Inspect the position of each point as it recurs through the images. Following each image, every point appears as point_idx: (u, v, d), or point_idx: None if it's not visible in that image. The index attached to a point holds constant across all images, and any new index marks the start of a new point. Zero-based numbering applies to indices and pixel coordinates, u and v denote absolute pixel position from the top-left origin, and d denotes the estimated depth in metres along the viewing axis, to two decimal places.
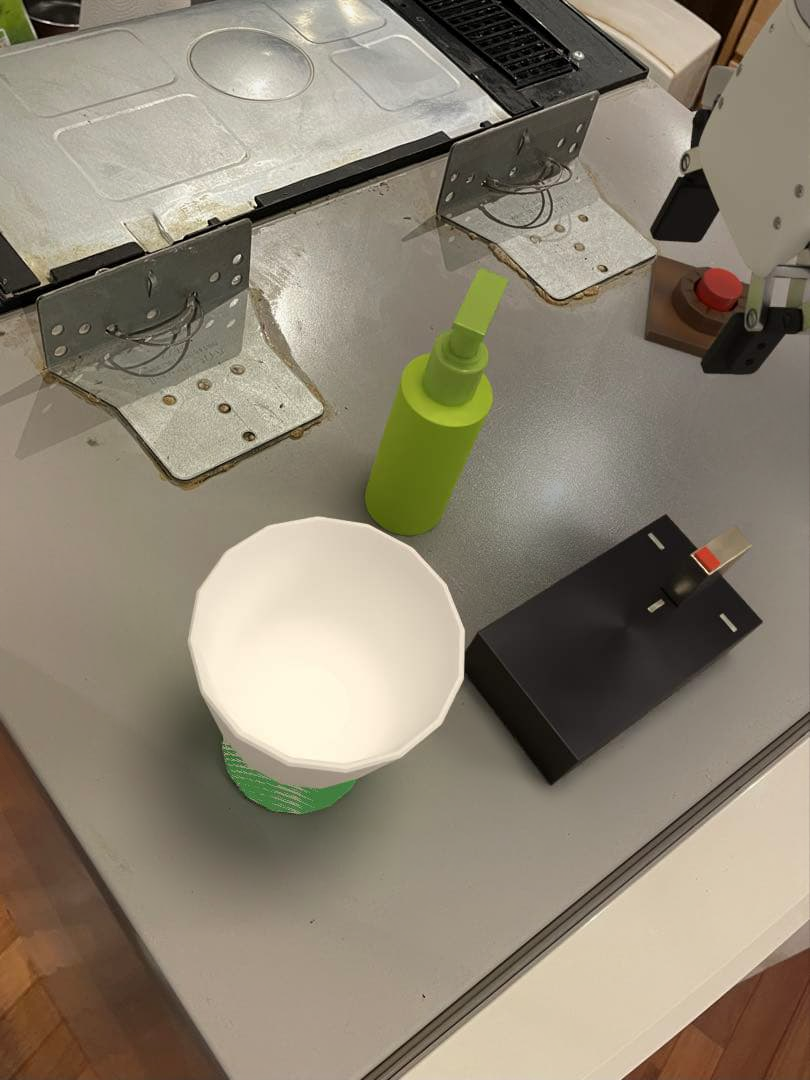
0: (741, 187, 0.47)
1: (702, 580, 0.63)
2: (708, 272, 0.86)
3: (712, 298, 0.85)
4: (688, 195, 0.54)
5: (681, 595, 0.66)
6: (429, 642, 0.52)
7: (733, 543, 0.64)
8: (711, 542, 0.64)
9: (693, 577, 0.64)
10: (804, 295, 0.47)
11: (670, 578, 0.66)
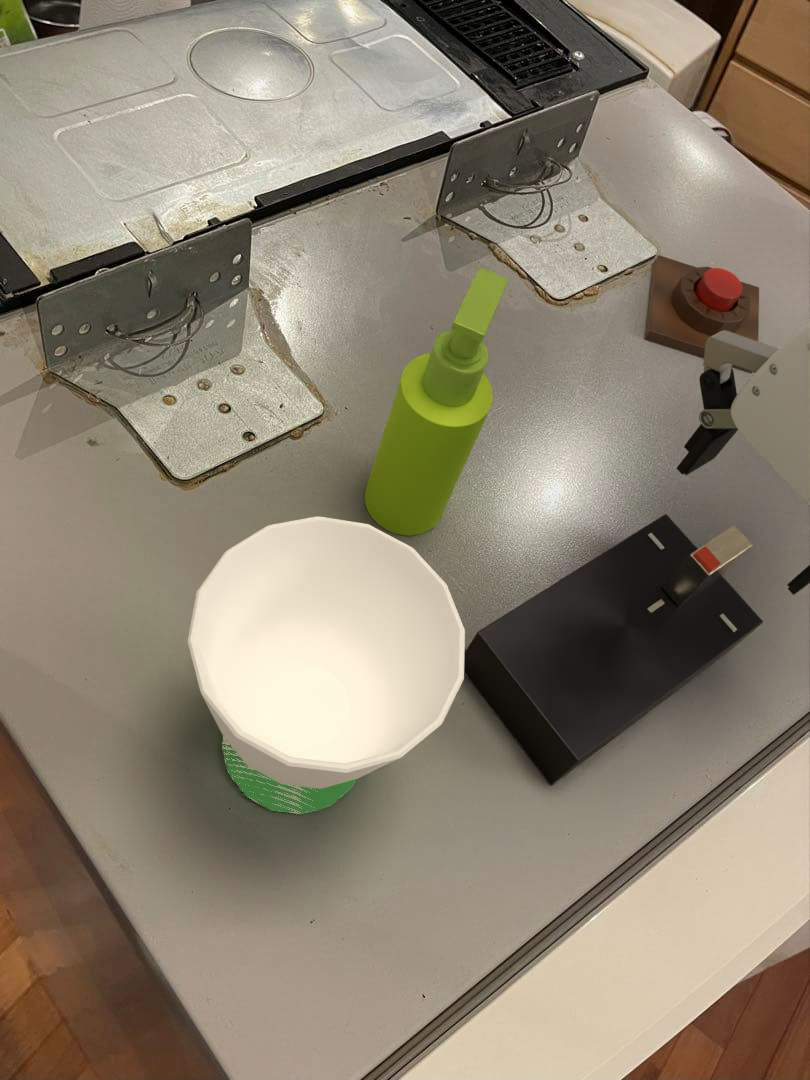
0: None
1: (702, 580, 0.63)
2: (708, 272, 0.86)
3: (712, 298, 0.85)
4: (715, 442, 0.59)
5: (681, 595, 0.66)
6: (429, 642, 0.52)
7: (733, 543, 0.64)
8: (711, 542, 0.64)
9: (693, 577, 0.64)
10: None
11: (670, 578, 0.66)
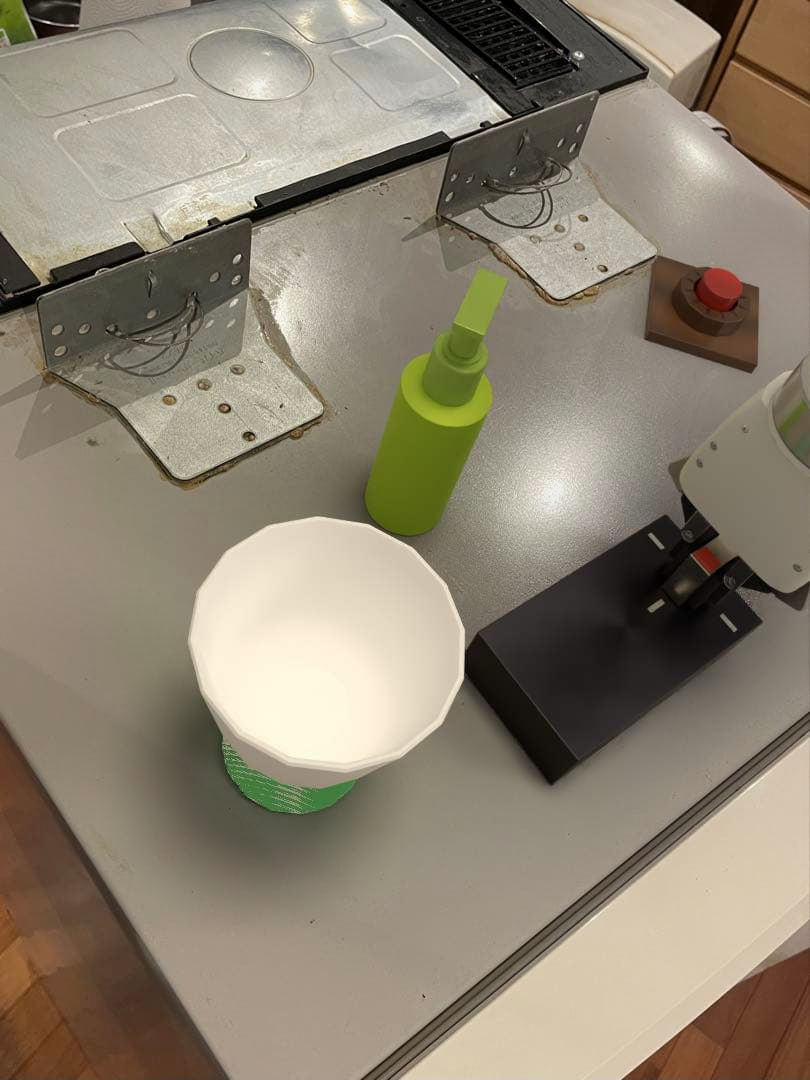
0: (748, 534, 0.58)
1: (702, 580, 0.63)
2: (708, 272, 0.86)
3: (712, 298, 0.85)
4: None
5: (681, 595, 0.66)
6: (429, 642, 0.52)
7: None
8: (711, 542, 0.64)
9: (693, 577, 0.64)
10: None
11: (670, 578, 0.66)
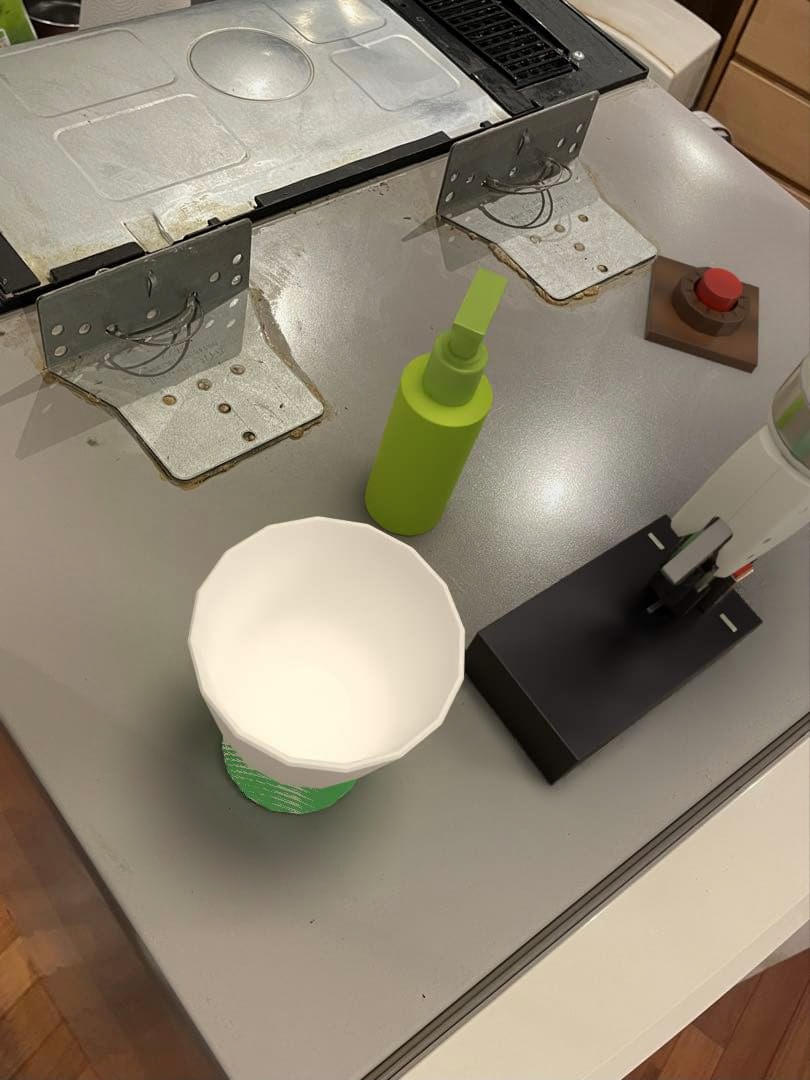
0: None
1: (747, 576, 0.64)
2: (708, 272, 0.86)
3: (712, 298, 0.85)
4: None
5: (725, 596, 0.66)
6: (429, 642, 0.52)
7: None
8: None
9: (739, 583, 0.65)
10: None
11: (715, 603, 0.66)
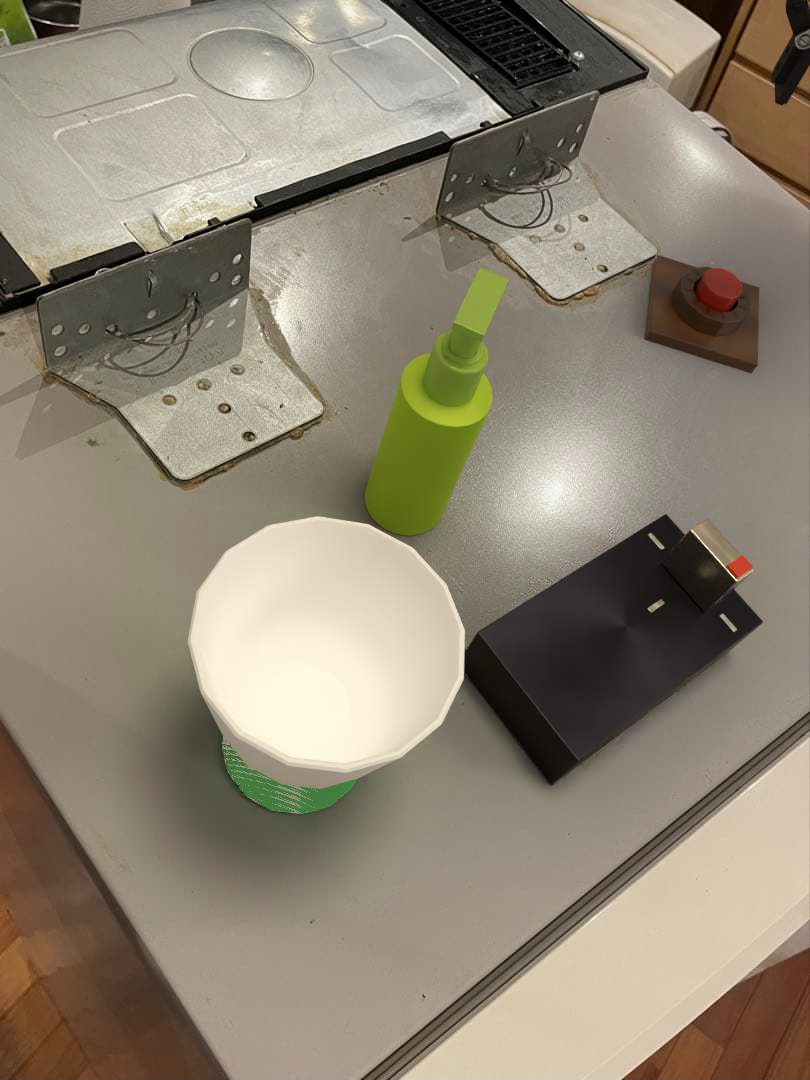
0: None
1: (747, 576, 0.64)
2: (708, 272, 0.86)
3: (712, 298, 0.85)
4: None
5: (725, 596, 0.66)
6: (429, 642, 0.52)
7: (711, 536, 0.64)
8: (717, 557, 0.64)
9: (739, 583, 0.65)
10: None
11: (715, 603, 0.66)
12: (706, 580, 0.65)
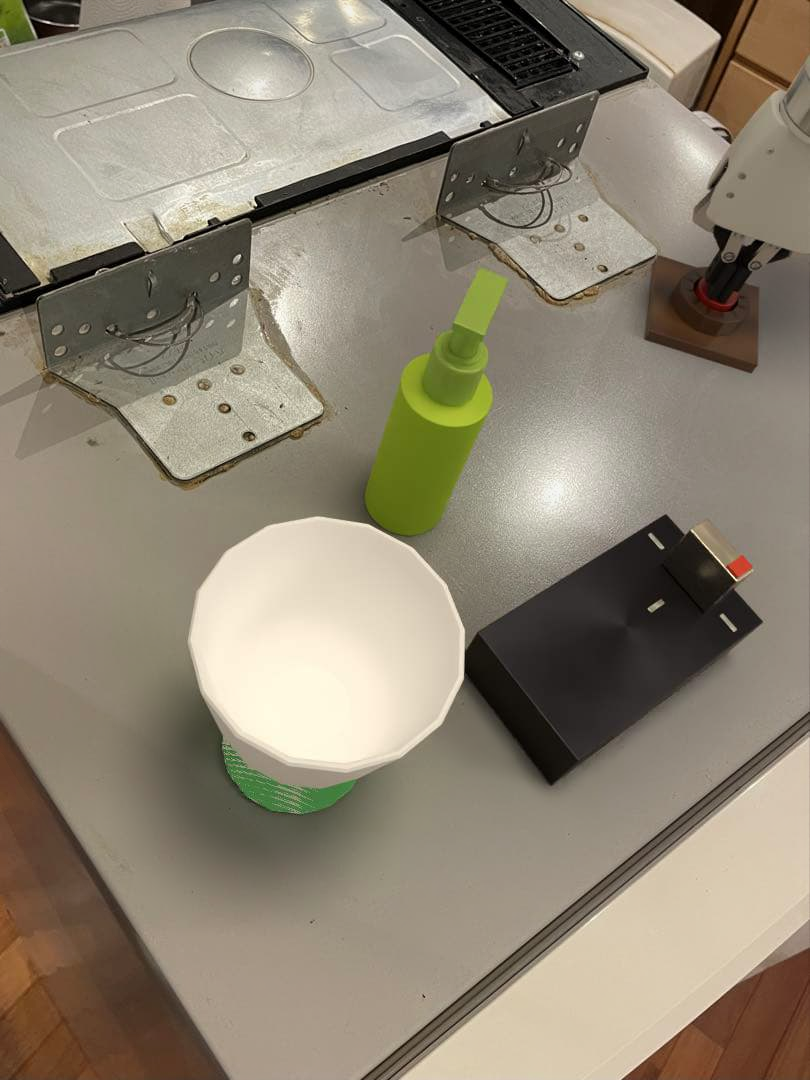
0: (784, 225, 0.77)
1: (747, 576, 0.64)
2: (703, 279, 0.87)
3: (707, 305, 0.86)
4: None
5: (725, 596, 0.66)
6: (429, 642, 0.52)
7: (711, 536, 0.64)
8: (717, 557, 0.64)
9: (739, 583, 0.65)
10: None
11: (715, 603, 0.66)
12: (706, 580, 0.65)
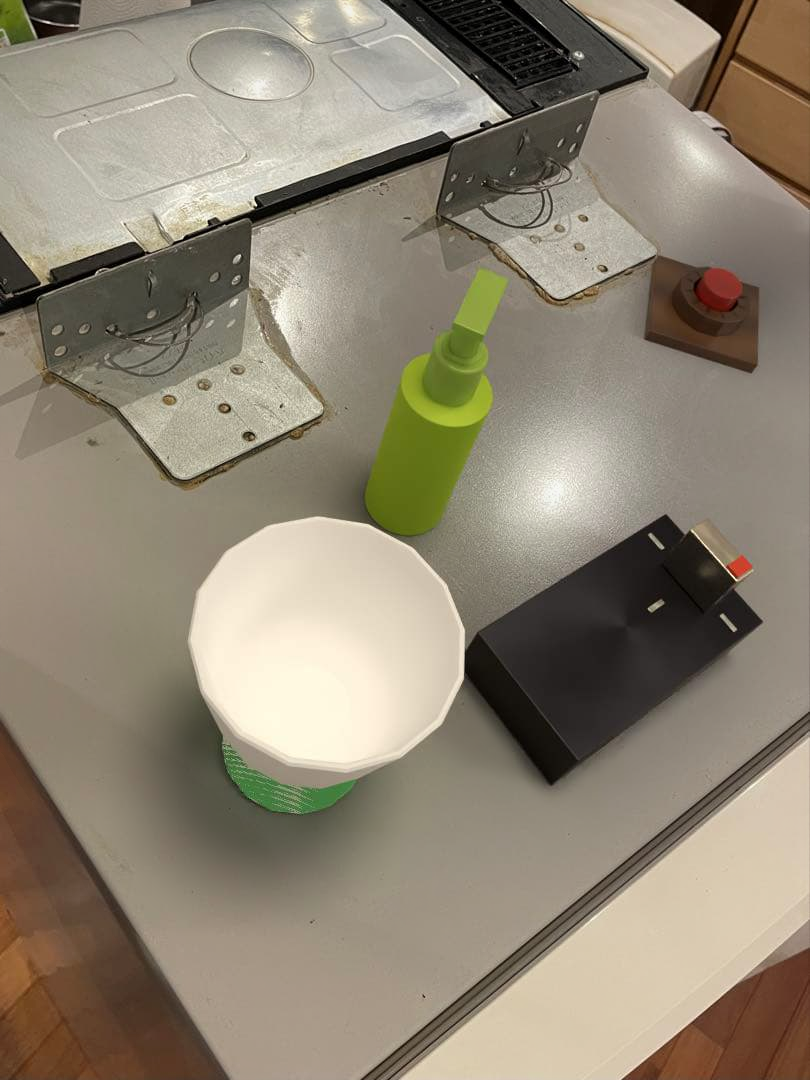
0: None
1: (747, 576, 0.64)
2: (708, 272, 0.86)
3: (712, 298, 0.85)
4: None
5: (725, 596, 0.66)
6: (429, 642, 0.52)
7: (711, 536, 0.64)
8: (717, 557, 0.64)
9: (739, 583, 0.65)
10: None
11: (715, 603, 0.66)
12: (706, 580, 0.65)
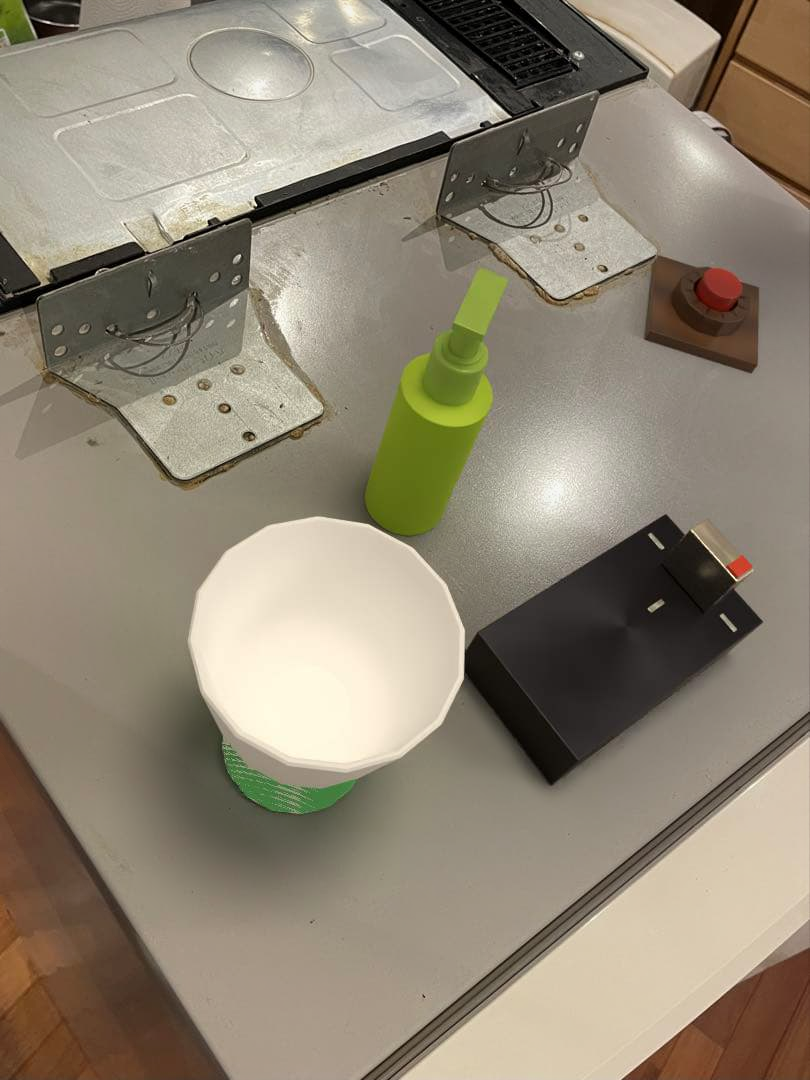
0: None
1: (747, 576, 0.64)
2: (708, 272, 0.86)
3: (712, 298, 0.85)
4: None
5: (725, 596, 0.66)
6: (429, 642, 0.52)
7: (711, 536, 0.64)
8: (717, 557, 0.64)
9: (739, 583, 0.65)
10: None
11: (715, 603, 0.66)
12: (706, 580, 0.65)
